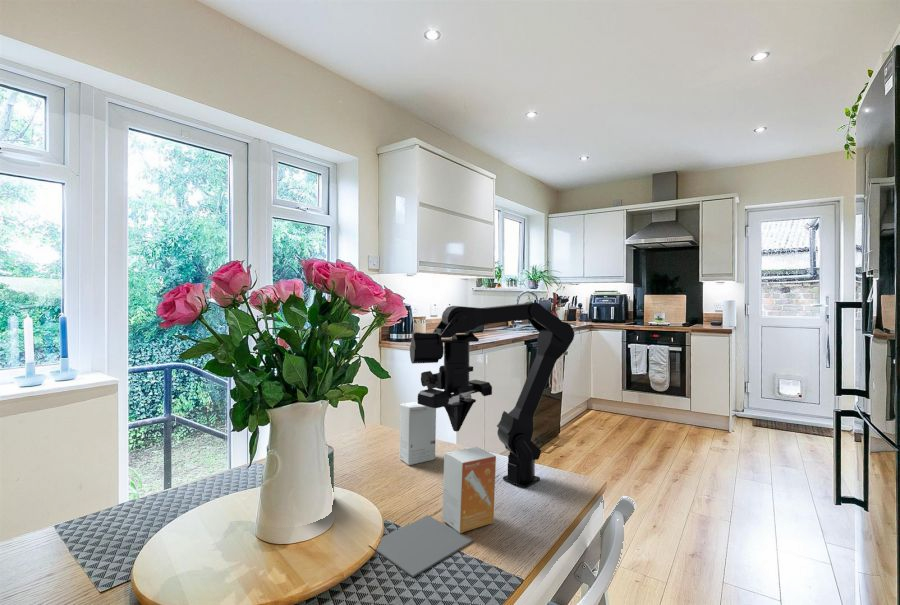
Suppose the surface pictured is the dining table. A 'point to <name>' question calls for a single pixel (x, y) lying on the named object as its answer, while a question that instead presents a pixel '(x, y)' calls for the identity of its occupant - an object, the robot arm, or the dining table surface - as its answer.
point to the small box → (468, 488)
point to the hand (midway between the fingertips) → (456, 430)
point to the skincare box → (417, 433)
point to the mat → (421, 545)
